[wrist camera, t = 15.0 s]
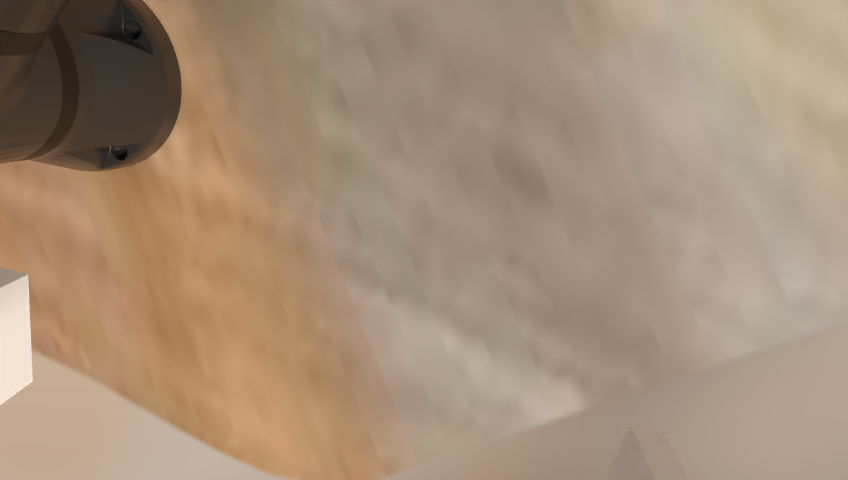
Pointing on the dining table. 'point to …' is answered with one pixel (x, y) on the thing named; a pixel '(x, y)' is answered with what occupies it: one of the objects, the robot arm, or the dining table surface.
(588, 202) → the dining table surface
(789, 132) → the dining table surface
